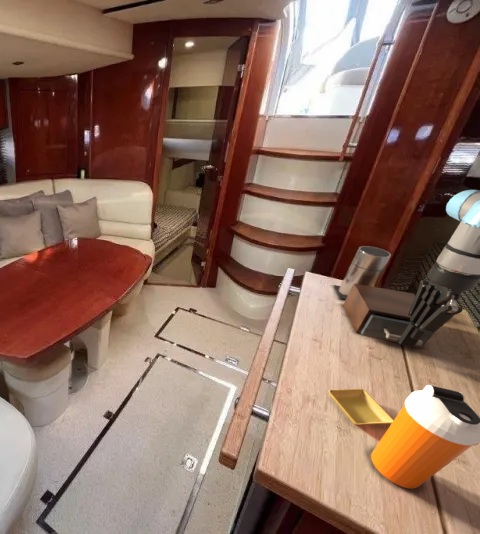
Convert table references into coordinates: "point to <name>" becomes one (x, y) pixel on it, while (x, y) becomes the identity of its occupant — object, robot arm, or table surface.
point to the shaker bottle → (426, 436)
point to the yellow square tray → (360, 407)
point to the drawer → (390, 329)
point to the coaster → (339, 293)
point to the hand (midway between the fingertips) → (405, 344)
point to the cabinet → (375, 304)
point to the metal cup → (364, 268)
